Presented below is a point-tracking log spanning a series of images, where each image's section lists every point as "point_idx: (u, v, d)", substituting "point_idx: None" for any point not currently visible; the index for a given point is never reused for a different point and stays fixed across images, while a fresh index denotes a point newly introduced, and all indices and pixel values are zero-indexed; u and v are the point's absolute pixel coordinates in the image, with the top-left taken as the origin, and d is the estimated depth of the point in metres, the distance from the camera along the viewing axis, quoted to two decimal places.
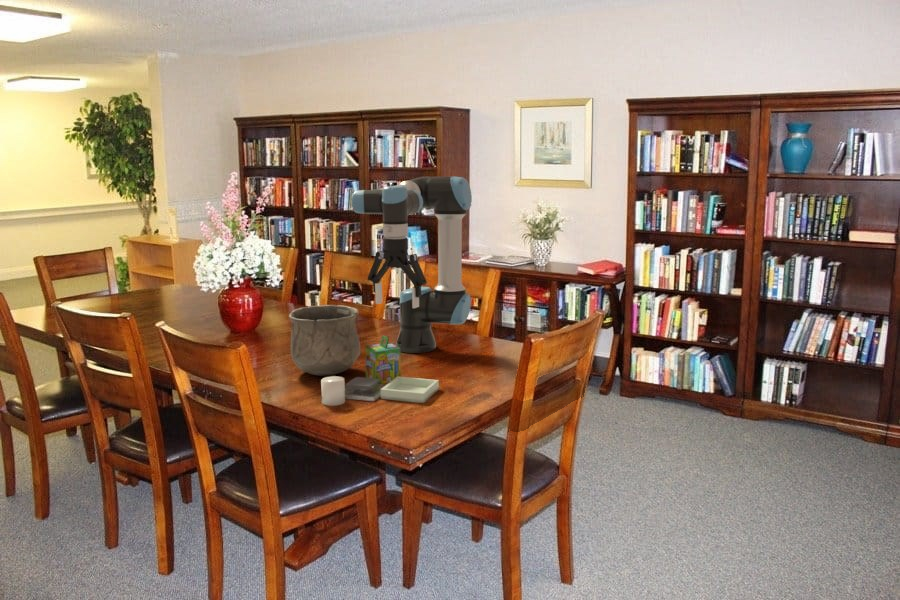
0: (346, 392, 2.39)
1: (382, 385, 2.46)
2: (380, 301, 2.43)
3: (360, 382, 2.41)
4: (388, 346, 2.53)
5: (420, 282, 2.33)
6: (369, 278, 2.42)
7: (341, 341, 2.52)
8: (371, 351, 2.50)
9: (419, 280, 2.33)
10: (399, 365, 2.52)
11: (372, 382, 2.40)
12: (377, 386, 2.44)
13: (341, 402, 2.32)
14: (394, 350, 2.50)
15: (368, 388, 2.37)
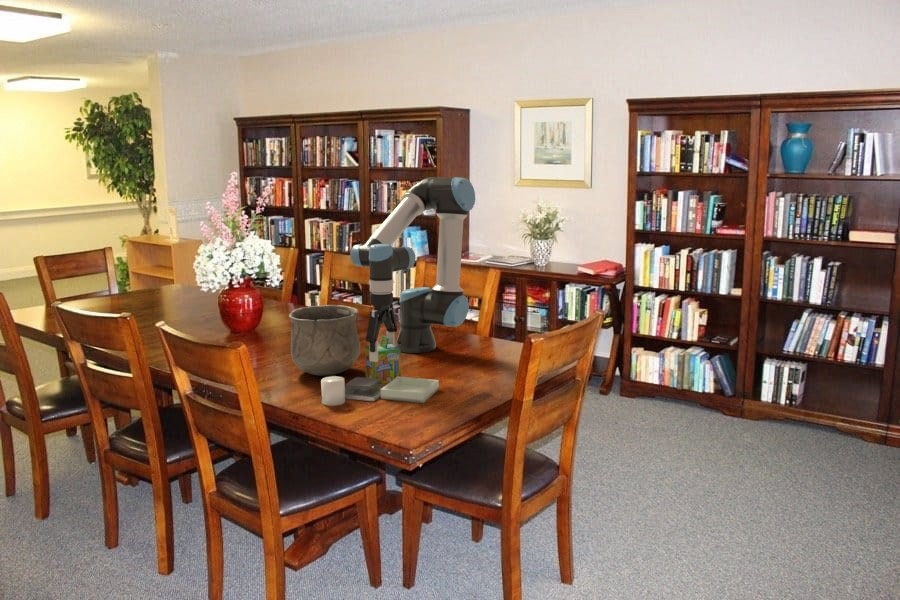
0: (346, 392, 2.39)
1: (382, 385, 2.46)
2: None
3: (360, 382, 2.41)
4: (388, 346, 2.53)
5: None
6: None
7: (341, 341, 2.52)
8: None
9: None
10: (399, 365, 2.52)
11: (372, 382, 2.40)
12: (377, 386, 2.44)
13: (341, 402, 2.32)
14: (394, 350, 2.50)
15: (368, 388, 2.37)
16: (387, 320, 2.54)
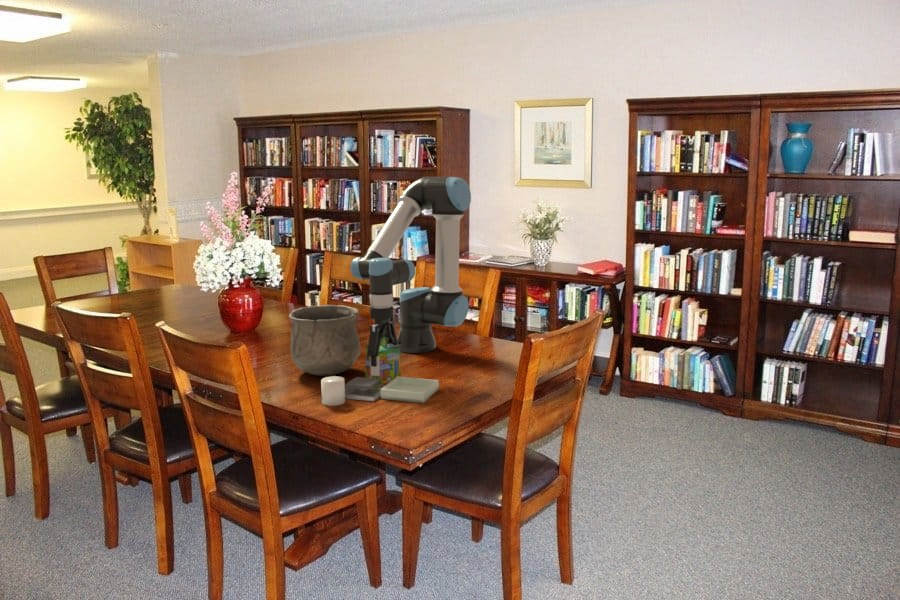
0: (346, 392, 2.39)
1: (382, 385, 2.46)
2: None
3: (360, 382, 2.41)
4: (388, 346, 2.53)
5: None
6: None
7: (341, 341, 2.52)
8: None
9: None
10: (399, 365, 2.52)
11: (372, 382, 2.40)
12: (377, 386, 2.44)
13: (341, 402, 2.32)
14: (394, 350, 2.50)
15: (368, 388, 2.37)
16: (387, 333, 2.55)
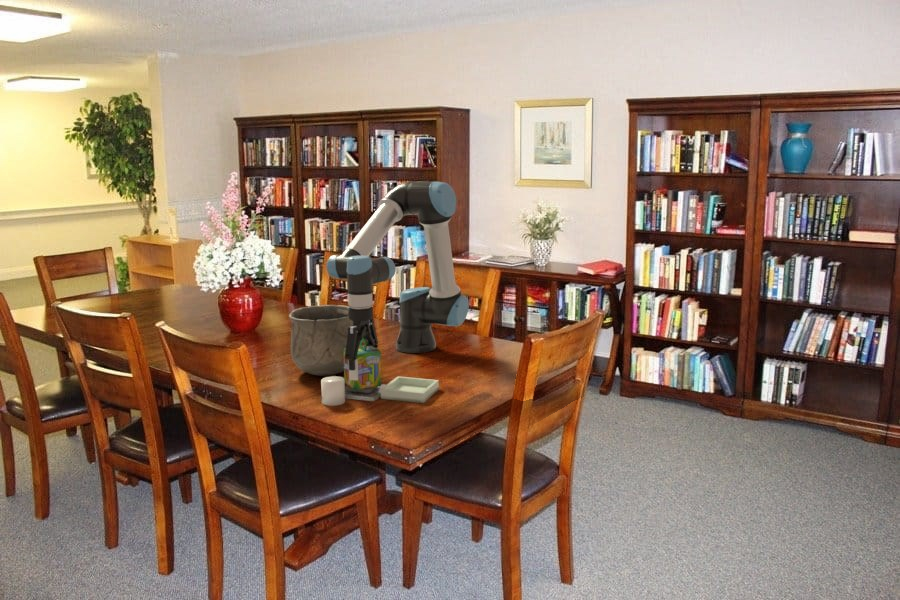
0: (346, 392, 2.39)
1: (382, 385, 2.46)
2: None
3: None
4: (367, 348, 2.40)
5: None
6: None
7: (341, 341, 2.52)
8: None
9: None
10: (379, 369, 2.38)
11: None
12: None
13: (341, 402, 2.32)
14: (373, 353, 2.37)
15: (368, 391, 2.37)
16: (367, 335, 2.42)
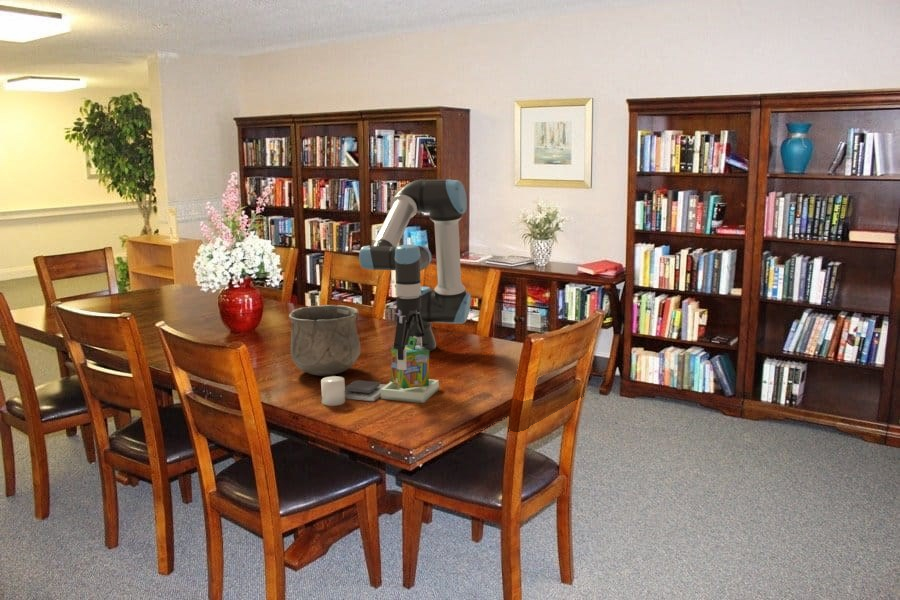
0: (346, 392, 2.39)
1: (382, 385, 2.46)
2: None
3: (360, 385, 2.41)
4: (416, 347, 2.39)
5: None
6: None
7: (341, 341, 2.52)
8: None
9: None
10: (427, 368, 2.37)
11: (372, 385, 2.41)
12: None
13: (341, 402, 2.32)
14: (422, 352, 2.36)
15: (368, 391, 2.37)
16: (414, 325, 2.40)
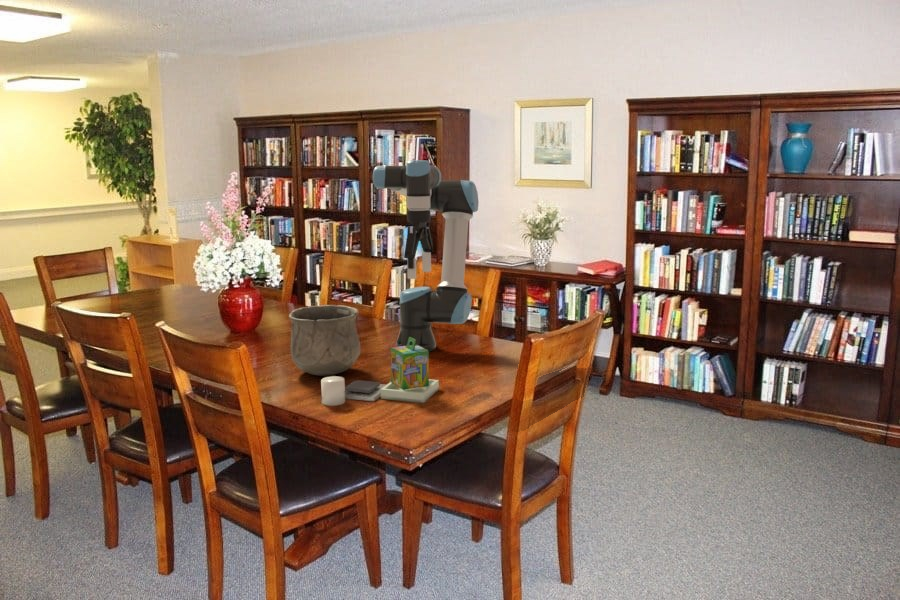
0: (346, 392, 2.39)
1: (382, 385, 2.46)
2: (427, 270, 2.56)
3: (360, 385, 2.41)
4: (415, 348, 2.38)
5: None
6: None
7: (341, 341, 2.52)
8: (398, 354, 2.35)
9: None
10: (427, 368, 2.37)
11: (372, 385, 2.41)
12: None
13: (341, 402, 2.32)
14: (422, 352, 2.35)
15: (368, 391, 2.37)
16: (424, 239, 2.51)
